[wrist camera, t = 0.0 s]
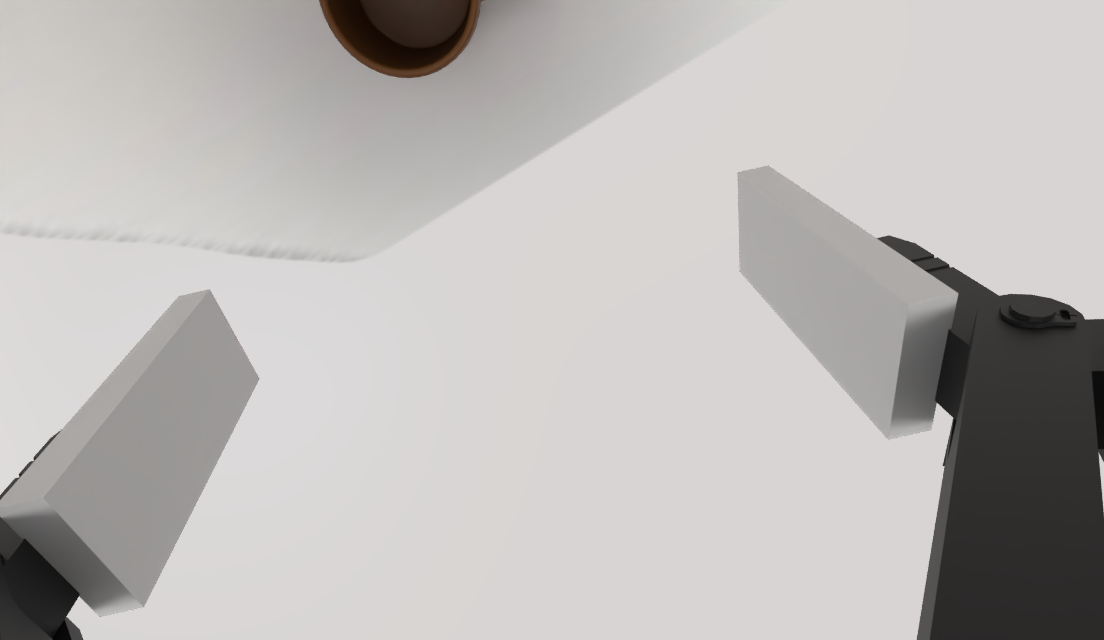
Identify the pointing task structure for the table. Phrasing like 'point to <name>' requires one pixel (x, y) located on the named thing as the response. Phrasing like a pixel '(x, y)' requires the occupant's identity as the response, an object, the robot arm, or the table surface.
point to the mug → (403, 32)
